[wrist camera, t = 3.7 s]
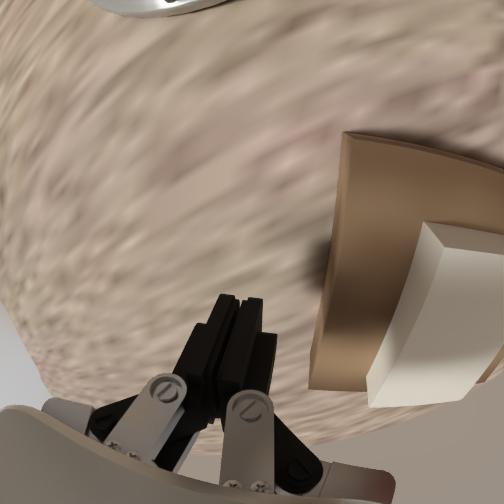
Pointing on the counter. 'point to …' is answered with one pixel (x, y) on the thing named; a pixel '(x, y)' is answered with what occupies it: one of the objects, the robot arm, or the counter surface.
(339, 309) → the brown square plate
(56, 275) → the counter surface
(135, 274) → the counter surface
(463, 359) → the white rectangular block
